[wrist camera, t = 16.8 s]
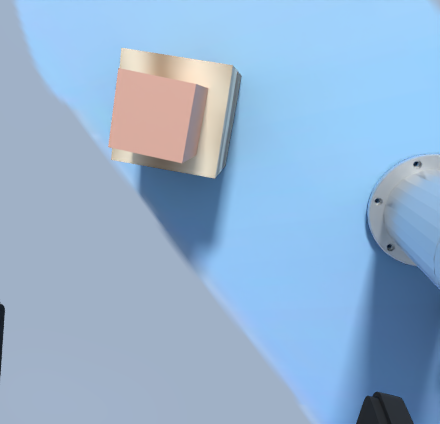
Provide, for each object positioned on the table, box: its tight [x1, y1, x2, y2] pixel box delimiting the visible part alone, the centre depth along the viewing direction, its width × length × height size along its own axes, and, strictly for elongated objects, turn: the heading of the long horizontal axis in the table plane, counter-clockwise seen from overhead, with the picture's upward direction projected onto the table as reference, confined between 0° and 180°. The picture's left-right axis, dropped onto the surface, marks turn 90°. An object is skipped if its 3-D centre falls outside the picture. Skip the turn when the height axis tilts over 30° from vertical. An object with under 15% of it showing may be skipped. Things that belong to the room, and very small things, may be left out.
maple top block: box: [111, 48, 237, 178], centre depth 40 cm, size 10×10×5 cm
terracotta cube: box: [108, 68, 208, 163], centre depth 34 cm, size 6×6×6 cm
